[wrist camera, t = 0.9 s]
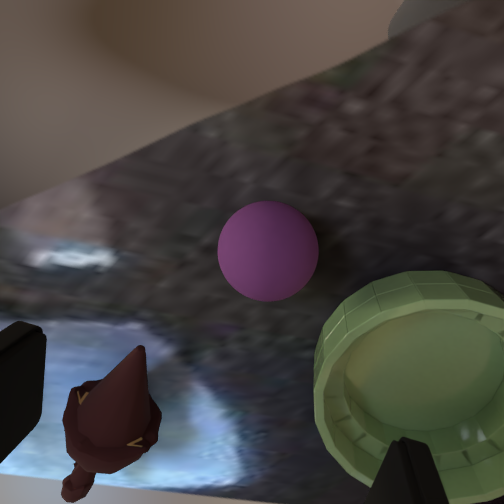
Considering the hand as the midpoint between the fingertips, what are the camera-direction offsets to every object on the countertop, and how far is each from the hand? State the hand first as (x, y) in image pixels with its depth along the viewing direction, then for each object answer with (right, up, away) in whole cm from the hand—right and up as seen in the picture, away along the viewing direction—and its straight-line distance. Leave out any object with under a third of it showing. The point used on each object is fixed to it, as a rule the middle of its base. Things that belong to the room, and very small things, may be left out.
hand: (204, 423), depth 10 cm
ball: (+2, +5, +13) cm, 14 cm away
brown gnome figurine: (-9, -7, +22) cm, 25 cm away
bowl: (+13, -3, +17) cm, 22 cm away
